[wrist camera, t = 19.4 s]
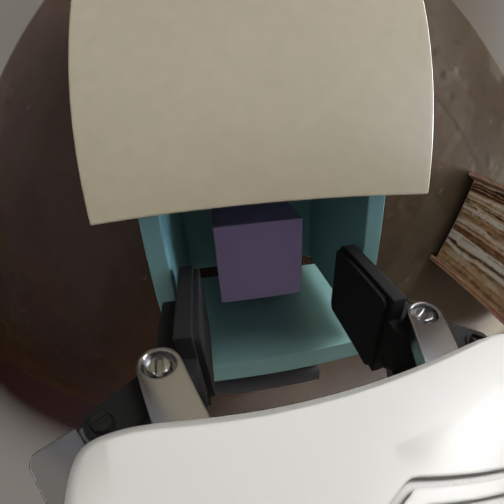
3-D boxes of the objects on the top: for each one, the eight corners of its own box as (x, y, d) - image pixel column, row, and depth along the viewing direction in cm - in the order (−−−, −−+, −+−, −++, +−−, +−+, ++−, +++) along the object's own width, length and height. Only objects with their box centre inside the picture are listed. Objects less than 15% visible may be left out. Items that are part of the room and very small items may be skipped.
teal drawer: (316, 326, 23) (353, 401, 16) (188, 345, 22) (189, 430, 15) (326, 94, 15) (407, 89, 8) (145, 105, 14) (97, 98, 7)
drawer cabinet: (330, 153, 18) (428, 194, 9) (146, 168, 16) (89, 226, 8) (318, -30, 11) (394, -95, 3) (136, -25, 10) (95, -106, 2)
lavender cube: (217, 264, 18) (221, 303, 14) (210, 200, 16) (212, 227, 12) (281, 256, 18) (300, 292, 15) (281, 194, 16) (303, 218, 13)
